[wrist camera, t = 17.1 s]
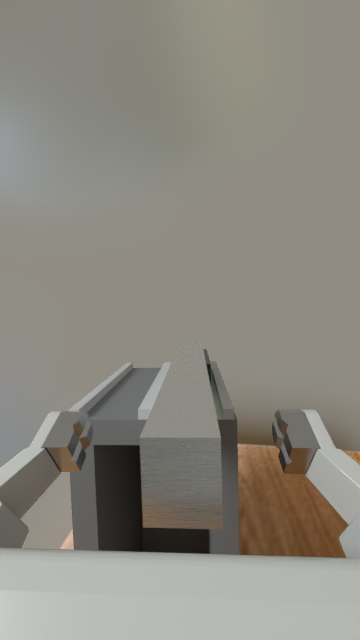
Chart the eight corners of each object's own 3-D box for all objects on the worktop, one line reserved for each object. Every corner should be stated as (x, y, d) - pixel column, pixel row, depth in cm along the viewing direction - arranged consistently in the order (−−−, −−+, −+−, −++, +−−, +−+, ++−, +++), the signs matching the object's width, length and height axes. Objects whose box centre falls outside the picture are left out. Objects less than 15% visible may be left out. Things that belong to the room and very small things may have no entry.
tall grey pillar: (133, 541, 36) (125, 362, 35) (221, 544, 35) (217, 361, 34) (83, 727, 20) (66, 409, 19) (242, 740, 19) (236, 408, 18)
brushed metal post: (180, 368, 33) (179, 343, 33) (206, 368, 33) (205, 342, 33) (142, 527, 9) (139, 437, 9) (236, 529, 9) (234, 437, 9)
